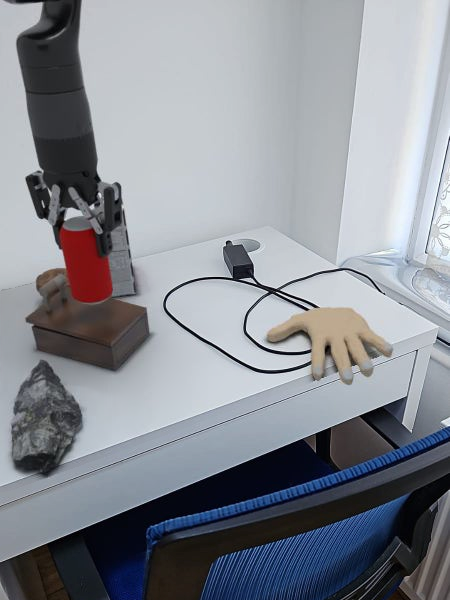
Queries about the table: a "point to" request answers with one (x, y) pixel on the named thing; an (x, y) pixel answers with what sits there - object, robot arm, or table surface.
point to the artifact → (48, 276)
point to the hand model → (335, 339)
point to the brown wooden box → (92, 345)
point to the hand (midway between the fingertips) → (84, 251)
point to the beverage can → (85, 262)
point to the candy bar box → (121, 260)
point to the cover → (84, 315)
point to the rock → (43, 419)
